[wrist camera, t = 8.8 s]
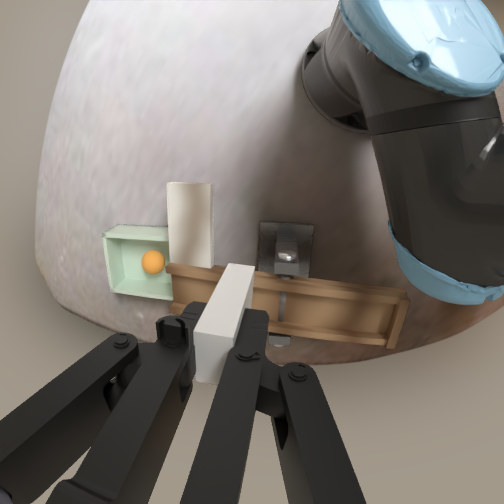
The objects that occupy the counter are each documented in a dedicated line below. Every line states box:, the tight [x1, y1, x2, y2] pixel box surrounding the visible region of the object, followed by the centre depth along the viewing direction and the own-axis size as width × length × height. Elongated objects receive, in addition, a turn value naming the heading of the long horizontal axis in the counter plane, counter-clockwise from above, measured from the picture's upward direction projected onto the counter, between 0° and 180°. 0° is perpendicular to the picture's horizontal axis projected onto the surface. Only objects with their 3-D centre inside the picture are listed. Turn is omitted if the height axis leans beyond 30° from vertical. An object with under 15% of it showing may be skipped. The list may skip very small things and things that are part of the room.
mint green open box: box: [102, 225, 173, 301], centre depth 40 cm, size 11×9×4 cm
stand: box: [258, 221, 314, 347], centre depth 35 cm, size 7×12×11 cm, turn 178°
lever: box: [165, 182, 410, 349], centre depth 29 cm, size 26×15×3 cm, turn 89°
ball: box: [141, 250, 165, 274], centre depth 40 cm, size 4×4×4 cm
